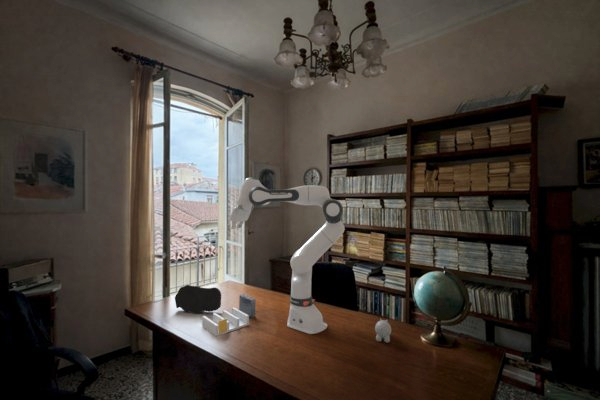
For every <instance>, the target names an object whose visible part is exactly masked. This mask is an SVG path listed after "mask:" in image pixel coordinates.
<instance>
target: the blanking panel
mask: <svg viewBox="0 0 600 400" xmlns="http://www.w3.org/2000/svg"><path fill="white" fill-rule="evenodd" d="M256 301H257V299H256V298H254V297H252V296H249V295H247V294H245V293H243V294H239V300H238V304H239V305H238V306H239V307H238V308H239V309H238V310H240V311H242V312H243V313H245V314H247V315H249V319H253V318H255V317H256V303H257V302H256Z"/></svg>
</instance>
